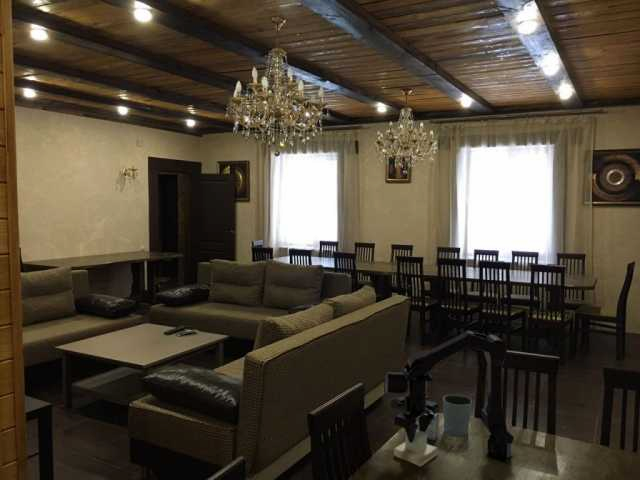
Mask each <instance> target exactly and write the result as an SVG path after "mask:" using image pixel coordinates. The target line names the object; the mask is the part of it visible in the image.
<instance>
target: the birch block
mask: <svg viewBox="0 0 640 480" xmlns="http://www.w3.org/2000/svg"><path fill="white" fill-rule="evenodd" d="M393 450H394V451H393V452H394V457H396V458H399V459H401V460H404V461H406V462H409V463H411V464H414V465H415V466H418V467H422V466H424V465H425V464H426V463H428V462H429V461H430V460H432V459H433V458H435V457H436V456H438V447H436V446H433V445H431V444H428V443H427V448H426V449H424V450H423V451H421V452H419V453H416V452H414V451H411V450H409V449H407V448H405V441H404V442H403V443H400V444H399V445H398V446H396V447H395V448H394V449H393Z"/></svg>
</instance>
